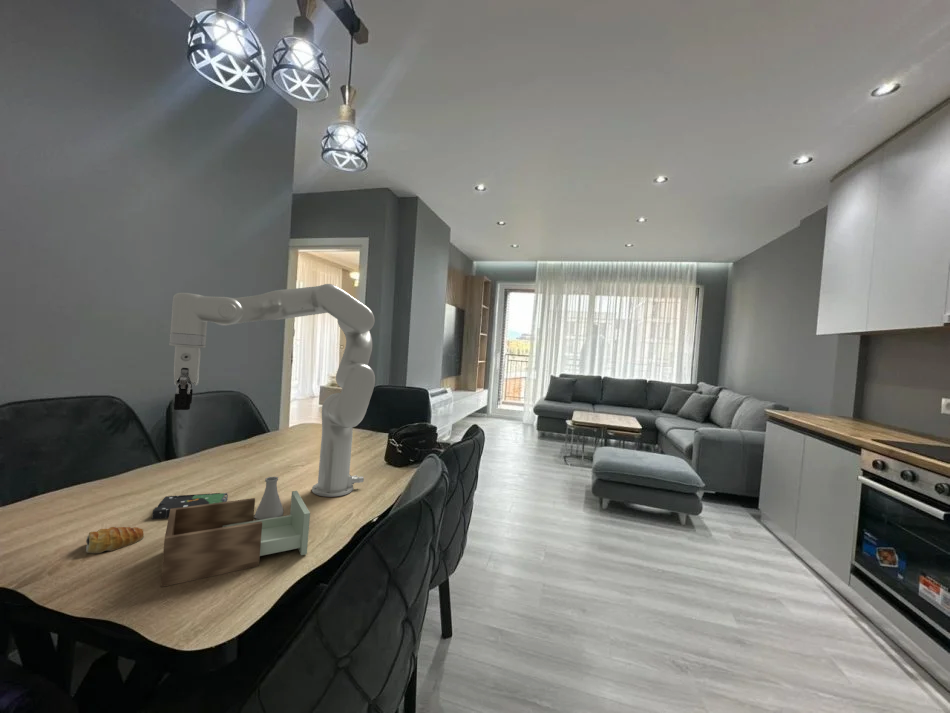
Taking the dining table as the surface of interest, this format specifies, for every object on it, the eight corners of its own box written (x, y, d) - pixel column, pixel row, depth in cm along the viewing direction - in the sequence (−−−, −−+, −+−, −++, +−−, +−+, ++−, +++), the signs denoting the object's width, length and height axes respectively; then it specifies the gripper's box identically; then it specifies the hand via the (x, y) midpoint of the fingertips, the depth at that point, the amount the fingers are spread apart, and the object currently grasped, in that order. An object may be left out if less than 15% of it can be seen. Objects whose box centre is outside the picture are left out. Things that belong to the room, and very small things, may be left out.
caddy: (251, 535, 93) (254, 498, 93) (258, 565, 81) (262, 523, 81) (167, 550, 84) (170, 508, 84) (160, 587, 71) (164, 538, 71)
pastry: (140, 533, 90) (141, 516, 90) (146, 544, 86) (147, 527, 86) (83, 545, 83) (84, 528, 83) (86, 558, 79) (87, 540, 79)
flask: (261, 509, 108) (264, 473, 108) (288, 510, 108) (290, 474, 108) (248, 520, 100) (251, 482, 100) (277, 521, 101) (280, 483, 101)
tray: (294, 526, 98) (297, 490, 98) (306, 554, 86) (310, 513, 86) (221, 539, 89) (224, 499, 89) (223, 572, 77) (227, 526, 77)
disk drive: (151, 522, 97) (221, 515, 103) (152, 511, 97) (222, 505, 103) (164, 506, 106) (227, 500, 112) (164, 496, 106) (228, 491, 112)
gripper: (205, 343, 95) (199, 412, 95) (206, 341, 110) (201, 401, 110) (166, 340, 91) (161, 412, 91) (172, 339, 105) (167, 402, 105)
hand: (183, 406), depth 100 cm, fingers open, 9 cm apart
